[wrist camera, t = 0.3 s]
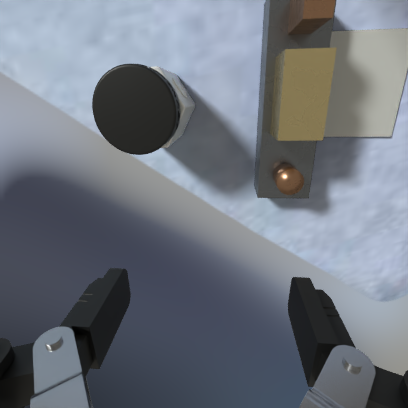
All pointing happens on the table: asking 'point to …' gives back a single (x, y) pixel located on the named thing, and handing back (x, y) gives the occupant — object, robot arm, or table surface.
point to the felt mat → (366, 82)
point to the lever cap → (301, 93)
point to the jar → (141, 108)
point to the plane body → (271, 47)
